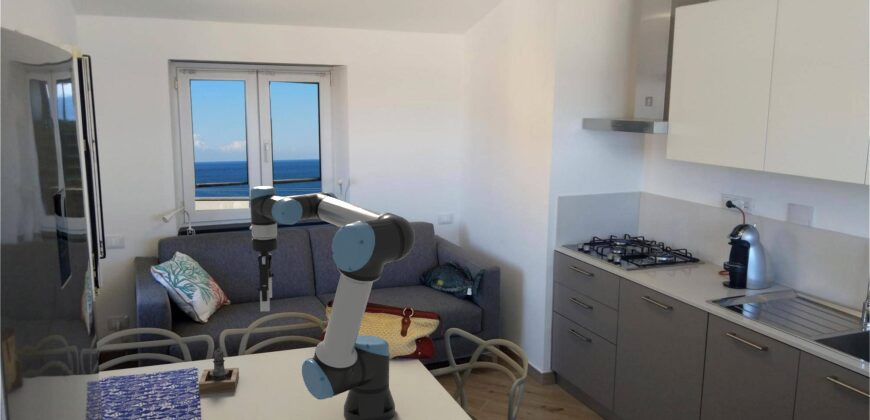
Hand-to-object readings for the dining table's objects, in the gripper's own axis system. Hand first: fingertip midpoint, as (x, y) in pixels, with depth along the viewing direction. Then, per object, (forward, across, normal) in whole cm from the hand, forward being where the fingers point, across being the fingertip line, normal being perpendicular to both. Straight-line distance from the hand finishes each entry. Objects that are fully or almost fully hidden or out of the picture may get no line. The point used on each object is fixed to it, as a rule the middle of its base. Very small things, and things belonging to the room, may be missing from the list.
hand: (266, 304), depth 205 cm
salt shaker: (+28, -7, -16) cm, 33 cm away
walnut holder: (+29, -7, -16) cm, 34 cm away
